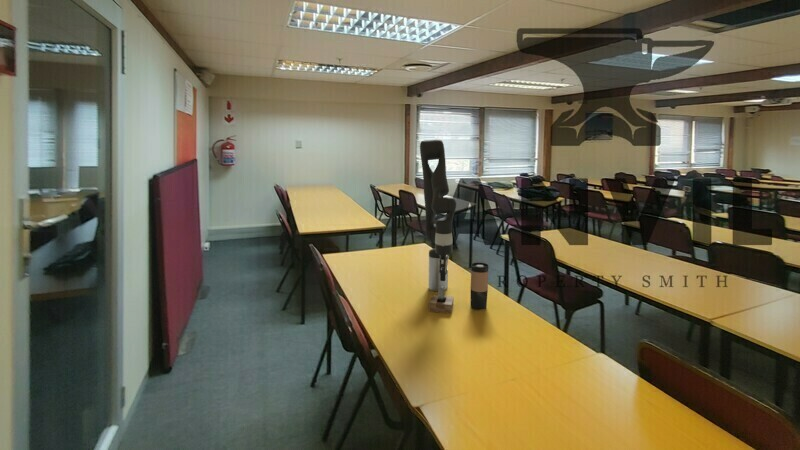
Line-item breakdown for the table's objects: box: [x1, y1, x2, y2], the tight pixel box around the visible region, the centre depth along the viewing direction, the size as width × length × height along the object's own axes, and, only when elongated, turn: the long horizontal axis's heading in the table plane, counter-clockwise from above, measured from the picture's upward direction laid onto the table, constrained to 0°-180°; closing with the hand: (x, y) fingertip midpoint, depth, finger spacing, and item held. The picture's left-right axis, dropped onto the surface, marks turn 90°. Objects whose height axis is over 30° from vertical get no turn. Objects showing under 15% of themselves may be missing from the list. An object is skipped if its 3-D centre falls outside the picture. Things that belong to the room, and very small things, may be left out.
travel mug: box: [470, 262, 489, 311], centre depth 186 cm, size 8×8×20 cm
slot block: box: [428, 294, 455, 314], centre depth 186 cm, size 10×10×4 cm
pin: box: [437, 286, 446, 302], centre depth 186 cm, size 3×3×10 cm
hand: (443, 277), depth 184 cm, fingers open, 8 cm apart
